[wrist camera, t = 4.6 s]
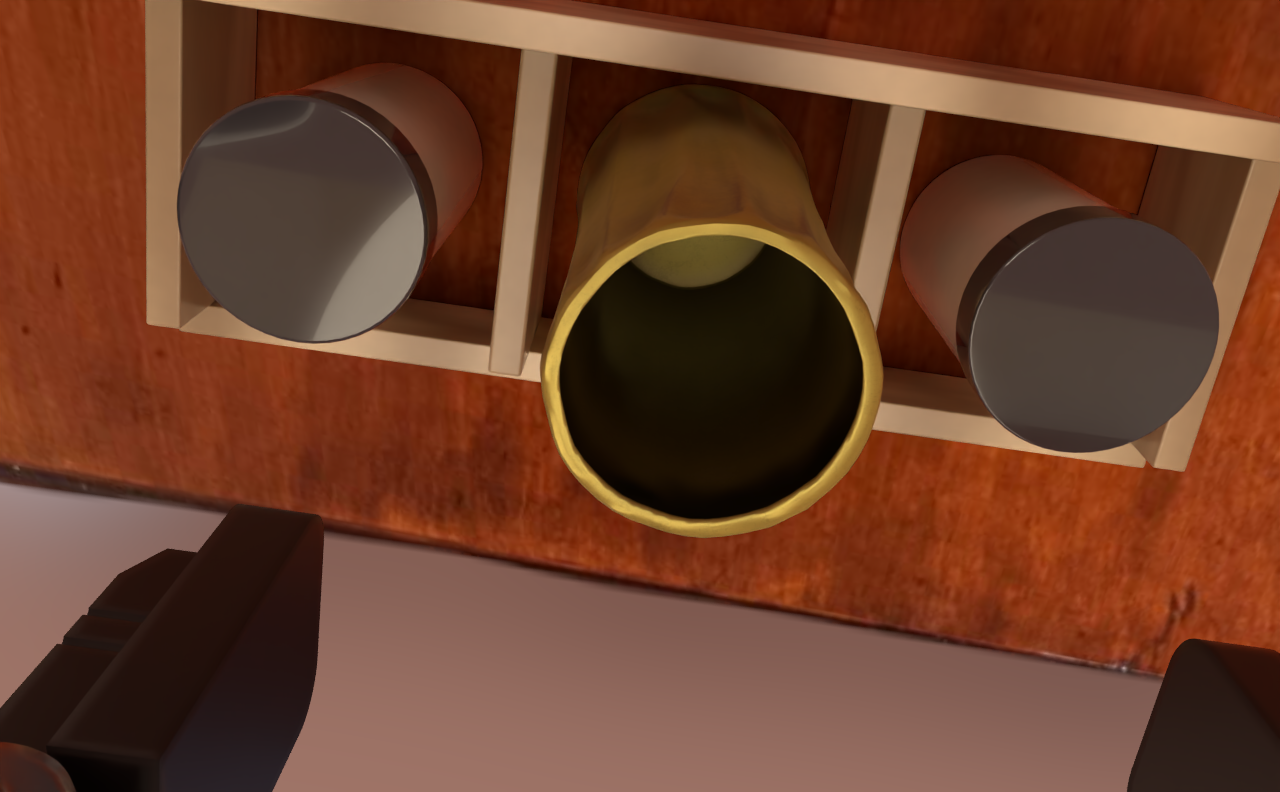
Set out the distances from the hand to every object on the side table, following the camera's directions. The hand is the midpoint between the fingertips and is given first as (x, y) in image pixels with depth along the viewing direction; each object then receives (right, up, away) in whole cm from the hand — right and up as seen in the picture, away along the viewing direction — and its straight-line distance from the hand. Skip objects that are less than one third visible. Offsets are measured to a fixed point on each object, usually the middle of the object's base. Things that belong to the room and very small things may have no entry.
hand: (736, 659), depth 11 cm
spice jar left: (-7, +9, +20) cm, 23 cm away
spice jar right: (+8, +7, +21) cm, 23 cm away
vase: (+1, +8, +20) cm, 22 cm away
